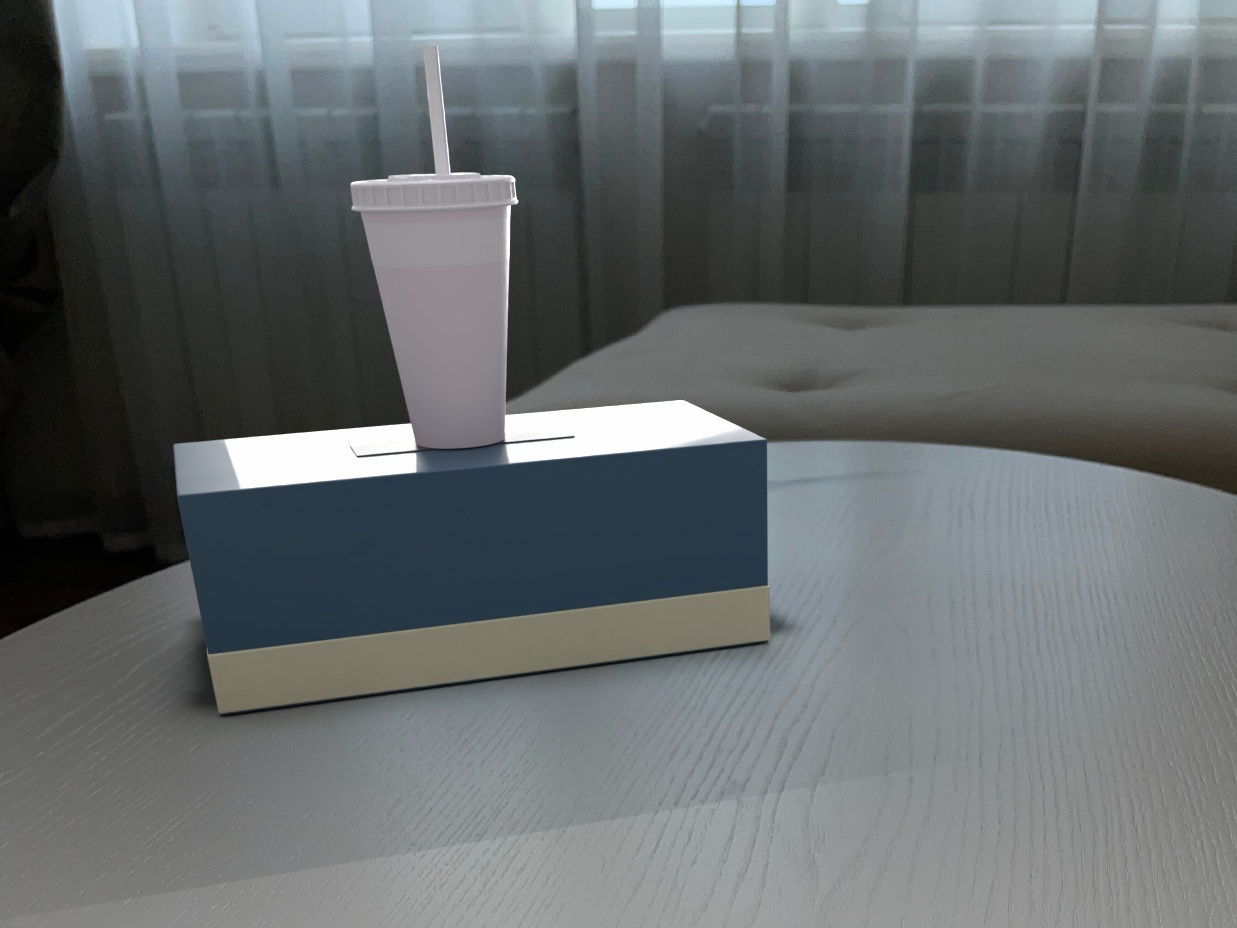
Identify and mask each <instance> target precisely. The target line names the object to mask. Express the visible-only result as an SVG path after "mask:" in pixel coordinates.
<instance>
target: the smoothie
mask: <svg viewBox="0 0 1237 928" xmlns="http://www.w3.org/2000/svg"><path fill="white" fill-rule="evenodd" d="M422 55H423V63H424V75H425V83H426V84H425V85H426V92H427V93H426V94H427V102H428V113H429V122H430V130H431V139H432V140H431V143H432V150H433V159H434V171H435V173H425V174H424V173H418V174H417V173H414V174H413V173H412V174H395V175H393V174H391V175H388V178H382V179H381V178H380V179H368V180H367V179H366V180H359V181H358V180H357V181H352V182H351V183H350V184H349V185H350V186H349V187H350V193H351V202H352V206H351V208H350V209H351V211H352V212H359V213H360V216H361V220H362V223H363V227H364V232H365V236H366V241H367V245H368V250H369V254H370V259H371V263H372V266H373V270H374V275H375V278H376V283H377V287H378V291H379V296H380V300H381V304H382V309H383V313H384V317H385V321H386V325H387V329H388V334H389V338H390V341H391V346H392V351H393V354H394V358H395V362H396V367H397V371H398V375H399V380H400V384H401V388H402V392H403V396H404V400H405V405H406V410H407V413H408V418H409V422H410V424H411V426H412V430H413V434H414V438H415V443H416V444H417V445H419V446H422V447H427V448H441V449H452V448H469V447H478V446H484V445H489V444H493V443H497V442H500V441H502V440H503V439H504V438H505V415H506V404H507V403H506V401H507V400H506V399H507V361H508V360H507V357H508V326H509V325H508V320H509V319H508V317H509V315H508V314H509V287H510V286H509V283H510V282H509V281H510V279H509V278H510V258H511V257H510V254H511V251H510V249H511V247H510V246H511V245H510V244H511V206H514V205H515V206H516V205H518V203H519V200H518V199H517V192H516V178H515V177H514V176H513V175H509V174H508V175H507V174H487V175H486V174H485V175H484V174H483V175H481V173H479V172H451V166H450V165H451V163H450V156H449V155H450V153H449V144H448V136H447V126H446V115H445V106H444V95H443V85H442V76H441V74H442V73H441V65H440V64H441V63H440V55H439V46H438V45H423V46H422Z"/></svg>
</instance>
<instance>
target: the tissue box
mask: <svg viewBox="0 0 1237 928" xmlns="http://www.w3.org/2000/svg"><path fill="white" fill-rule="evenodd" d="M172 448H173V450H172V451H173V462H174V474H175V485H176V486H175V487H176V498H177V504H178V508H179V513H180V519H181V525H182V528H183V534H184V539H185V543H186V549H187V554H188V558H189V563H190V568H191V574H192V579H193V584H194V589H195V594H196V598H197V603H198V604H197V605H198V609H199V615H200V619H201V624H202V629H203V634H204V639H205V644H206V655H207V656H206V657H207V662H208V666H209V672H210V677H211V682H212V688H213V692H214V696H215V701H216V706H217V711H218V714H220V715H221V716H227V715H234V714H235V715H236V714H242V713H249V712H250V713H251V712H257V711H264V710H272V709H279V708H285V707H287V708H288V707H294V706H301V705H302V706H303V705H309V704H316V703H323V702H331V701H338V700H345V699H355V698H360V697H367V696H368V697H369V696H375V695H384V694H390V693H398V692H405V691H411V690H413V691H414V690H420V689H426V688H427V689H428V688H435V687H443V686H449V685H458V684H465V683H473V682H479V681H488V680H494V679H502V678H508V677H517V676H523V675H524V676H525V675H531V674H532V675H533V674H539V673H546V672H554V671H555V672H556V671H560V670H568V669H576V668H584V667H591V666H599V665H607V664H613V663H622V662H628V661H635V660H643V659H650V658H658V657H666V656H673V655H680V654H687V653H694V652H703V651H710V650H718V649H725V648H732V647H733V648H734V647H740V646H747V645H754V644H761V643H768V642H769V641H770V639H771V592H770V591H771V587H770V585H769V578H768V577H769V561H768V560H769V557H768V556H769V549H768V548H769V547H768V545H769V544H768V543H769V542H768V541H769V539H768V537H769V536H768V535H769V533H768V532H769V531H768V528H769V527H768V440H767V438H764V437H763V436H760V435H758V434H756V433H755V432H752V431H750V430H747V429H745V428H743V427H742V426H739V425H737V424H735V423H732V422H730V421H729V420H726V419H724V418H722V417H720V416H717V415H716V414H714V413H711V412H710V411H707V410H706V409H703V408H701V407H699V406H697V405H695V404H693V403H690V402H688V401H686V400H683V399H679V400H668V401H656V402H644V403H633V404H621V405H610V406H609V405H608V406H599V407H597V406H596V407H586V408H573V409H564V410H563V409H562V410H551V411H539V412H528V413H527V412H526V413H517V414H515V413H514V414H505V438H504V439H503V440H502V441H500V442H497V443H493V444H489V445H484V446H478V447H469V448H452V449H441V448H427V447H422V446H419V445H417V444H416V443H415V438H414V434H413V430H412V426H411V423H401V424H388V425H378V426H365V427H355V428H343V429H332V430H331V429H330V430H320V431H319V430H318V431H307V432H295V433H285V434H273V435H262V436H248V437H238V438H225V439H215V440H205V441H204V440H203V441H191V442H179V443H173V445H172Z"/></svg>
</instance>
